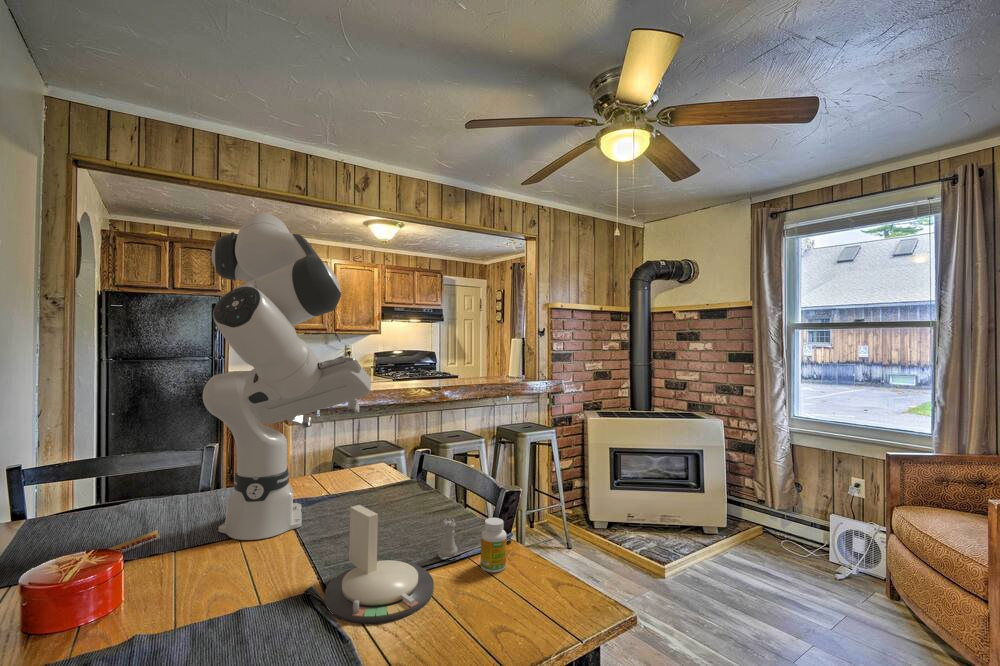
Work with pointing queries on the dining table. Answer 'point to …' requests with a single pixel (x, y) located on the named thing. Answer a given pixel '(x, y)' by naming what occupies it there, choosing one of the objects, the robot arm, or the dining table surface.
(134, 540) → the chocolate bar
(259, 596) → the dining table surface
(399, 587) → the peg dial
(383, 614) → the base
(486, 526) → the supplement bottle
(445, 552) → the rook chess piece
